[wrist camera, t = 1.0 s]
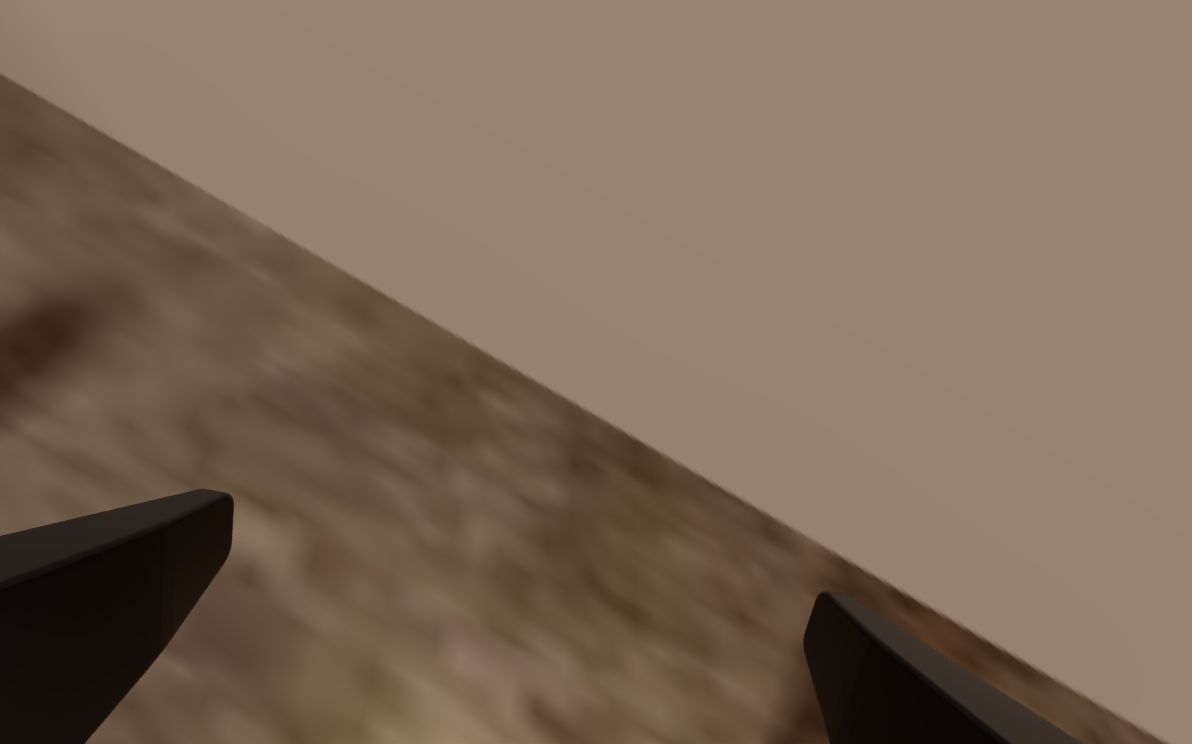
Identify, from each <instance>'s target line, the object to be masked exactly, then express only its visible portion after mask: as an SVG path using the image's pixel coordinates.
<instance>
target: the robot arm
mask: <svg viewBox="0 0 1192 744" xmlns="http://www.w3.org/2000/svg"><path fill="white" fill-rule="evenodd" d="M233 513H234V501H233V498H232V496H231V495H230V494H228V493H225V492H219V491H213V490H207V489H198V490H194V491H190V492H186V493H181V494H177V495H173V496H169V497H164V498H160V499H156V500H151V501H147V502H143V503H139V504H134V505H130V506H126V507H122V508H117V509H113V510H109V511H105V512H100V513H96V514H92V515H88V516H83V517H79V518H75V519H71V520H66V521H62V522H58V523H54V524H49V525H45V526H41V527H37V528H32V529H28V530H24V531H20V532H15V533H11V534H7V535H3V536H0V744H85V743H86V741H87V740H88V739H89V738H90V737H91V736H92V734H93V733H94V732H95V731H96V730H97V729H98V727H99V726H100V725H101V724H102V723H103V722H104V720H105V719H106V718H107V717H108V716H109V714H110V713H111V712H112V711H113V710H114V709H115V707H116V706H117V705H118V704H119V703H120V702H121V700H122V699H123V698H124V697H125V696H126V694H127V693H128V692H129V691H130V690H131V689H132V687H133V686H134V685H135V684H136V683H137V682H138V680H139V679H140V678H141V677H142V676H143V675H144V673H145V672H146V671H147V670H148V669H149V667H150V666H151V665H152V664H153V662H154V661H155V660H156V659H157V658H158V656H159V655H160V654H161V653H162V651H163V650H164V649H165V647H166V646H167V645H168V643H169V642H170V640H171V639H172V638H173V636H174V635H175V633H176V632H177V631H178V629H179V628H180V626H181V625H182V623H183V622H184V621H185V619H186V618H187V616H188V615H189V613H190V612H191V610H192V609H193V608H194V606H195V605H196V603H197V602H198V600H199V599H200V597H201V596H202V595H203V593H204V592H205V590H206V589H207V587H208V586H209V585H210V583H211V582H212V580H213V579H214V577H215V576H216V574H217V573H218V572H219V570H220V569H221V567H222V566H223V564H224V563H225V561H226V559H227V557H228V555H229V553H230V549H231V545H232V530H233ZM804 652H805V656H806V660H807V663H808V667H809V671H810V674H811V678H812V682H813V685H814V689H815V692H816V696H817V700H818V703H819V707H820V711H821V714H822V718H823V722H824V725H825V729H826V732H827V736H828V739H829V742H830V744H1083V743H1082V742H1080V741H1079V740H1077V739H1075V738H1074V737H1072V736H1071V735H1069V734H1068V733H1066V732H1064V731H1063V730H1061V729H1060V728H1058V727H1056V726H1055V725H1053V724H1052V723H1050V722H1049V721H1047V720H1045V719H1044V718H1042V717H1041V716H1039V715H1038V714H1036V713H1034V712H1033V711H1031V710H1030V709H1028V708H1026V707H1025V706H1023V705H1022V704H1020V703H1019V702H1017V701H1015V700H1014V699H1012V698H1011V697H1009V696H1008V695H1006V694H1004V693H1003V692H1001V691H1000V690H998V689H996V688H995V687H993V686H992V685H990V684H989V683H987V682H985V681H984V680H982V679H981V678H979V677H978V676H976V675H974V674H973V673H971V672H970V671H968V670H966V669H965V668H963V667H962V666H960V665H959V664H957V663H955V662H954V661H952V660H951V659H949V658H948V657H946V656H944V655H943V654H941V653H940V652H938V651H936V650H935V649H933V648H932V647H930V646H929V645H927V644H925V643H924V642H922V641H921V640H919V639H917V638H916V637H914V636H913V635H911V634H910V633H908V632H906V631H905V630H903V629H902V628H900V627H899V626H897V625H895V624H894V623H892V622H891V621H889V620H887V619H886V618H884V617H883V616H881V615H880V614H878V613H876V612H875V611H873V610H872V609H870V608H869V607H867V606H865V605H864V604H862V603H861V602H859V601H857V600H856V599H854V598H853V597H851V596H849V595H847V594H843V593H837V592H831V591H823V592H821V593H820V594H819V595H818V596H817V598H816V601H815V604H814V607H813V610H812V613H811V616H810V619H809V622H808V625H807V628H806V631H805V634H804Z"/></svg>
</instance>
